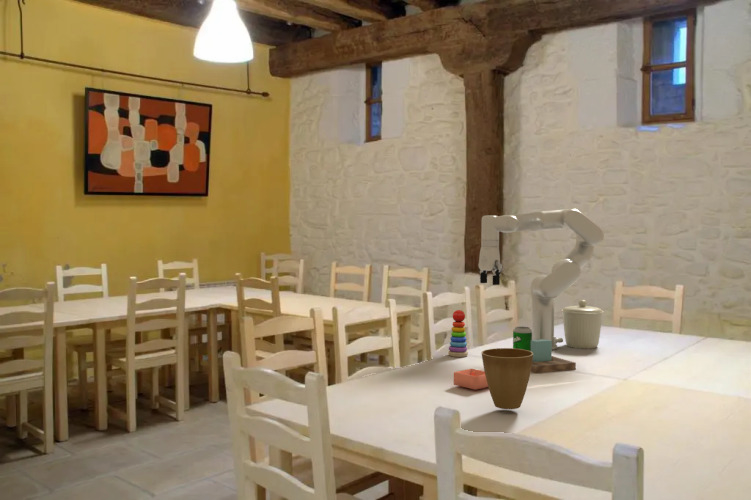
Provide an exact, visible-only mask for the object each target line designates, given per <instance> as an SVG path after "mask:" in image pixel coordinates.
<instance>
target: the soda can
mask: <svg viewBox="0 0 751 500" xmlns="http://www.w3.org/2000/svg"><path fill="white" fill-rule="evenodd" d="M531 329H532V328H531V327H528V326H515V327H514V328H513V330H512V332H513V333H512V348H514V349H523V350H528V351H531V340H532V330H531Z"/></svg>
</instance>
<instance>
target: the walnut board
mask: <svg viewBox="0 0 751 500" xmlns="http://www.w3.org/2000/svg"><path fill="white" fill-rule="evenodd" d="M576 366H577V363H576V362H575V361H572V360H567V359H563V358H559V357H556V356H552V358H551V361H542V362H534V361H532V366H531V372H530V373H534V374H541V373H552V372H563V371H572V370H576V369H577V368H576Z"/></svg>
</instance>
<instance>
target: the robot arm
mask: <svg viewBox="0 0 751 500" xmlns="http://www.w3.org/2000/svg"><path fill="white" fill-rule="evenodd" d="M568 229H569V230H571V231H572V232H573V233H574V234H576V235H575V245H574V247H573V248H572V249H571V250H570V251H569V252H568V253H567V254H565V255H564V256H563V257H562V258H561V259H559V260H558V261H556V262H555V263H554V264H553V266H552V267H551V272H550V273H549V274H548V275H547V274H539V275H536V276H535V277H534V278H533V279H532V281H531V283H530V296H531V297H530V298H531V328H530V329H531V330H532V340H541V339H547V340H551V341H552V350H553V351H554V350H557V349H558V348H559V347H558V343H559V344H560V343H563V342H564V339H563V338H562V337H558V338H557V336H556V337H555V298H558V297H559V296H560V295H561V294H563V292H565V291H566V290H568V289H569V288H570V287H572V286H573V284H575V283H576V282H577V281H578V280H579V278H580V276H581V274H582V269H583V268H584V266H586V265H587V264H588V263H589V262H590V261H591V260H592V258H593V255H594V251H595V246H598V245H600V244H601V243H602V242H603V241H604V238H605V234H604V231H603V229H602V228H601V227H600V226H599V225H598V224H596V223H595V222H594V221H593V220H592V219H590V218H589V217H588V216H587V215H585V214H584V213H583V212H581V211H580V210H578V209H577V208H568V209H566V208H565V209H554V210H553V209H552V210H543V211H542V210H541V211H533V212H528V213H518V214H504V215H499V216H498V215H491V214H490V215H482V217H481V234H480V235H481V236H480V237H481V244H480V246H481V247H480V251H479V257H478V259H479V260H478V263H477V266H478V271H479V274H480V275H479V277H480V278H479V279H480V280H479V283H480V284H487V283H488V272H490V271H491V272H492V274H493V275H492V286H499V285H501V284H500V281H501V280H500V279H501V278H500V276H501V273H502V269H503V264H502V263H501V255H500V232H501V233H510V234H511V233H513V232H525V231H526V232H527V231H528V232H544V231H556V230H558V231H559V230H568Z"/></svg>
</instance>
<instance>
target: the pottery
mask: <svg viewBox="0 0 751 500" xmlns="http://www.w3.org/2000/svg"><path fill="white" fill-rule="evenodd" d="M453 385H454V386H458V387H462V388H467V389H471V390H479V389H484V388H487V387H488V384H487V380H486V376H485V371H484V370H479V369H475V368H467V369H463V370H458V371H453ZM488 388H489V387H488Z"/></svg>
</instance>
